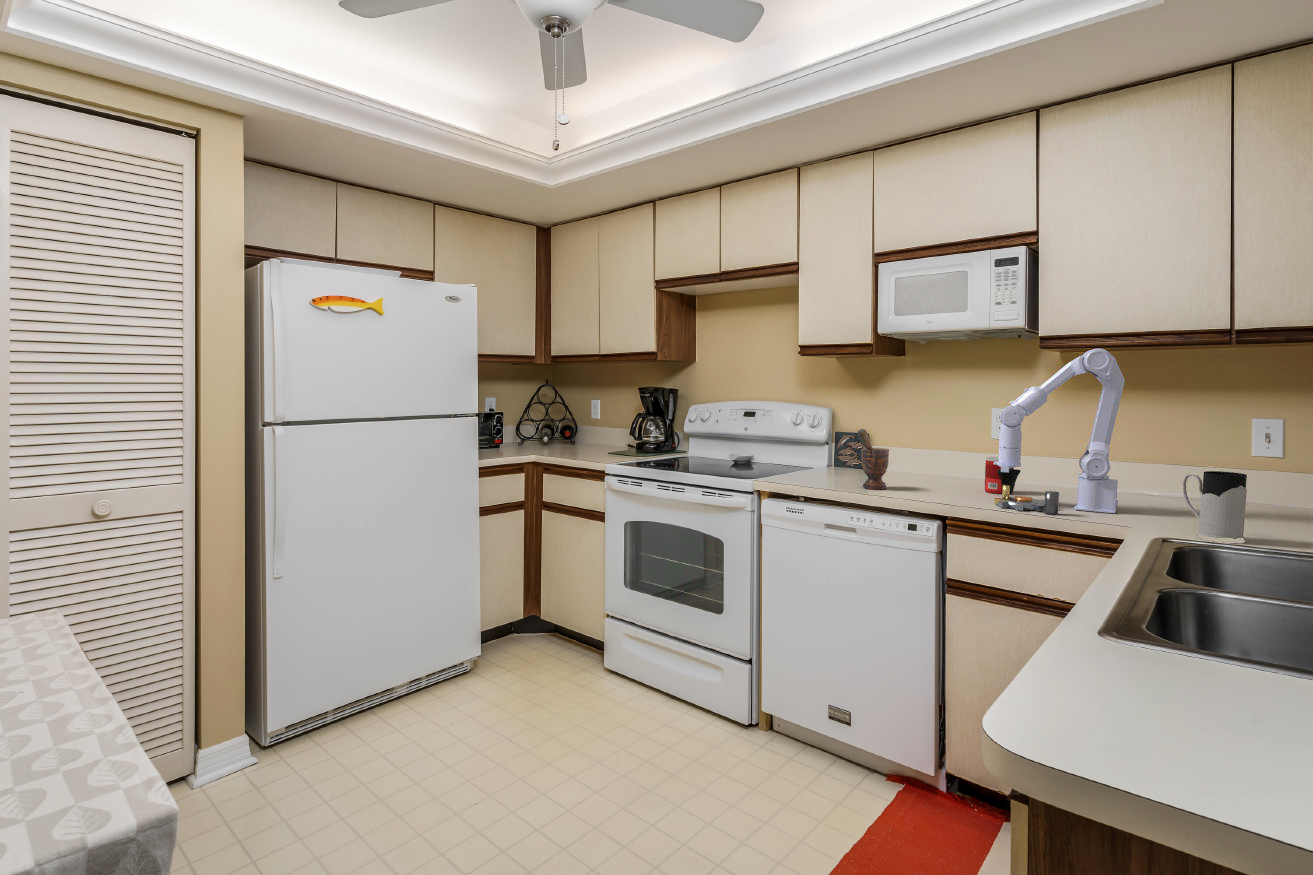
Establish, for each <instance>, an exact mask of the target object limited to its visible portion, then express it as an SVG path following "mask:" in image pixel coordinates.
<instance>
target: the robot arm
mask: <svg viewBox="0 0 1313 875" xmlns="http://www.w3.org/2000/svg"><path fill="white" fill-rule="evenodd" d="M1087 373H1089V374H1091V375H1092V376H1094V378H1095V379H1097V380H1098V382H1099V383H1100V384H1101V386H1102V387H1101V390H1100V395H1099V399H1098V404H1097V408H1096V412H1095V416H1094V420H1093V424H1092V428H1091V432H1090V437H1089V441H1088V444H1087V445H1086V449H1085V452H1084V453H1083V454H1082V455H1081V457H1080V458H1079V461H1078V465H1079V468H1080V470H1081V472H1080V474H1078V476H1077V491H1076V492H1077V494H1076V495H1077V496H1076V504H1075V505H1074V507H1073V510H1076V511H1083V512H1084V511H1087V512H1096V513H1106V514H1116V511H1117V508H1118V507H1119V500H1118V484H1119V482H1118V481H1119V480H1118V479H1115V478H1114V479H1113V478H1110V475H1108V474H1109V472H1110V469H1111V463H1110V460H1109V457H1110V446H1111V440H1112V436H1113V433H1114V428H1115V425H1116V420H1117V416H1118V412H1119V407H1120V403H1121V399H1122V396H1123V391H1124V386H1125V383H1126V382H1125V381H1126V380H1125V377H1124V375H1123V373H1122V370H1121V368H1120V367H1119V364H1118V362H1117V359H1116V358H1115V356H1114V355H1113V354H1111V353H1110V352H1109V351H1108V350H1107V349H1104V348H1101V347H1100V348H1094V349H1090V350H1087V351H1086V352H1084V353H1083V354H1082V355H1080V356H1077V357H1076V358H1073V360H1071V361H1069V362H1067V364H1065V365H1064V366H1063V367H1061V368H1060V369H1059V370H1058V371H1057V372H1056V373H1054V374H1053V375H1052V376H1051V377H1049V379H1047V380H1046V381H1044V382H1043V383H1042V384H1041V385H1040V386H1031V387H1030V388H1028V387H1026V388H1025V389H1024V390H1023V393H1022V394H1021V395H1019V396H1018V397H1017V398H1016V399H1015V400H1011V401H1010V402H1009V401H1008V402H1009V404H1010V405H1008V406H1005V407H1003V408H1002V410H1001V411H1000V414H999V420H1000V421H1001V423H1000V425H999V429H1000V430H999V437H998V438H999V439H998V456H997V457H998V462H994V464H995V465H998V466H1000V467H1001V469H998V470H997V473H998V475H999V477H1000V480H1001V483H1002V489H1003V485H1010V494H1009V496H1012V495H1013V493H1014V489H1015V487H1016V482H1017V479H1018V477H1019V475H1020V474H1021V469H1017V468H1019V467H1021V466H1022V463H1021V456H1022V441H1023V440H1022V437H1023V435H1022V434H1023V432H1022V423H1023V421H1024V419H1025V417H1028V416H1031V415H1032V414H1033V413H1034V412H1036V411H1037V410H1038V409H1040V408H1041V407H1042V406H1043V405H1044V404H1046V403H1047V402H1048V398H1049V397H1048V395H1049V394H1051V393H1053V392H1054V391H1055V390H1056V389H1058V388H1059V387H1060V386H1062V385H1063V384H1064V383H1066V382H1068V381H1069V380H1070V379H1072V377H1074V376H1075V377H1076V376H1078V375H1083V374H1087ZM1015 468H1016V469H1015Z"/></svg>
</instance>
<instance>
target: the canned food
mask: <svg viewBox="0 0 1313 875" xmlns="http://www.w3.org/2000/svg"><path fill="white" fill-rule="evenodd" d="M994 462H998V456H987V457H985V463H984V464H985V465H984V466H985V468H984V491H985V493H987V494H990V495H991V494H992V495H1002V492H1003V489H1002V483H1001V480H1000V477H999V475H998V473H997V470H998V469H1001V467H1000V466H998V465H995V464H994Z"/></svg>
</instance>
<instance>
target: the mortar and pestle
mask: <svg viewBox="0 0 1313 875" xmlns="http://www.w3.org/2000/svg"><path fill="white" fill-rule="evenodd" d="M857 436H858V438H859V440H860V441H861V443H862V444H863V446H864V448H862V449H861V451H860V452H861V453H860V454H861V459H860V460H861V466H862V470H863V473H864V474H865V475H866V476H867V479H866V480H865V481H864V483H863V484H862V487H863V489H864V488H865V489H867V490H879V491H880V490H886V489H887V483H886V482H884V481H883V476H884V475H885V474H886V472H887V470H888V466H889V453H890V449H889V448H887V447H886V448H883V447H873V445H872V444H871V440H870V437H869V434H868V432H867V430H866V429H864V428H860V429H858V430H857Z"/></svg>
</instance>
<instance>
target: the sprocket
mask: <svg viewBox="0 0 1313 875" xmlns="http://www.w3.org/2000/svg"><path fill="white" fill-rule="evenodd" d="M1009 494H1010V485H1003V492H1002V494H1001V496H1002V497H1001V498H1000V497H995V498H994V499H993V501H994V502H993V504H994V505H997V507H998V508H1009V509H1015V511H1022V512H1023V511H1024V510H1026V511H1037V512H1044V507H1045V499H1037V498H1033V497H1032V496H1026V495H1025V496H1024V495H1015V496H1014V497H1012V496H1011V495H1009Z"/></svg>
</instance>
